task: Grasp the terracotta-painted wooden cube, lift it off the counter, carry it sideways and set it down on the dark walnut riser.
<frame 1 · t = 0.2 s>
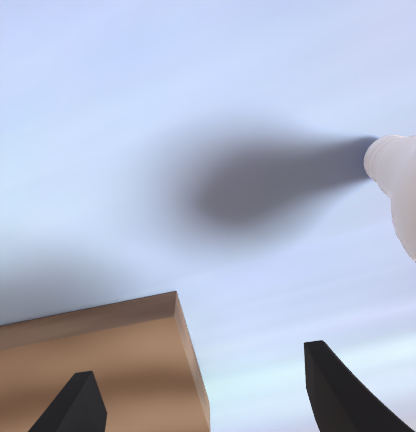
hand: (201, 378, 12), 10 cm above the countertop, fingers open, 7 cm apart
walnut riser: (96, 369, 25), on the countertop
lightbulb: (378, 154, 20), on the countertop
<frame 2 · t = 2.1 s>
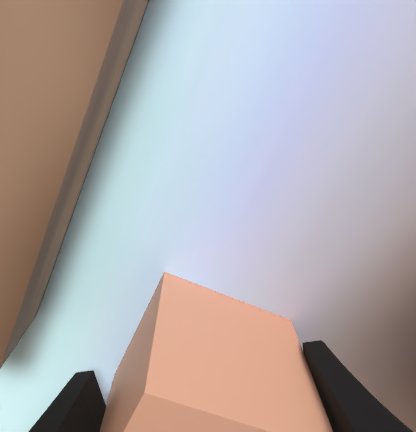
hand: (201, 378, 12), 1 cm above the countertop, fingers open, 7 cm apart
terracotta cube: (200, 346, 13), on the countertop, touching gripper
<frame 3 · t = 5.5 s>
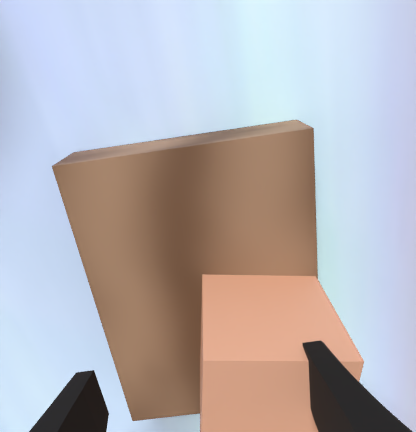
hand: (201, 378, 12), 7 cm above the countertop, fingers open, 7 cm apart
walnut riser: (206, 271, 18), on the countertop
terracotta cube: (254, 321, 16), point 2 cm above the countertop, touching gripper, walnut riser
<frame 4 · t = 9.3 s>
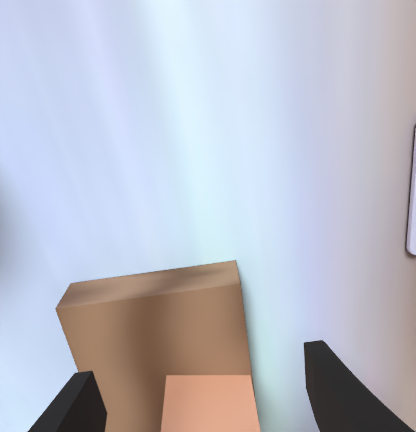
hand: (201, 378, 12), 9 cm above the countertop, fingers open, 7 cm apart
walnut riser: (173, 361, 24), on the countertop
terracotta cube: (207, 405, 22), point 2 cm above the countertop, touching walnut riser
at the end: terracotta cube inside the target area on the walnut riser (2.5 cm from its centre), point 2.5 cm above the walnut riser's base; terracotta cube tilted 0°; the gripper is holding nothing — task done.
